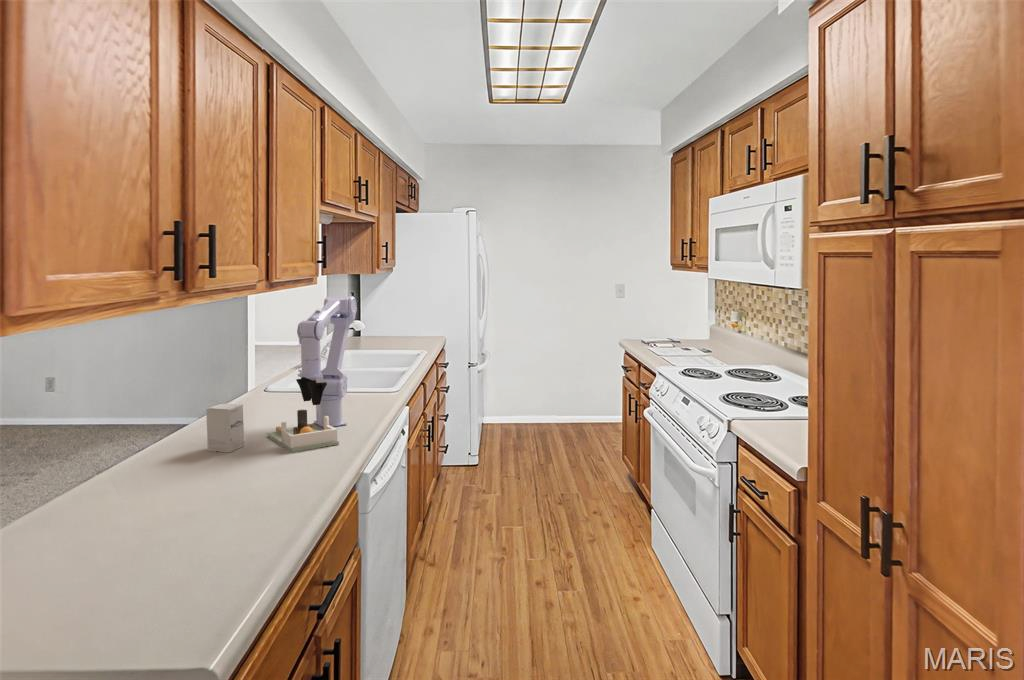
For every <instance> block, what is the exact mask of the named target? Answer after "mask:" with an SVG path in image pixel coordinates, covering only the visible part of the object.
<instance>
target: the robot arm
mask: <svg viewBox="0 0 1024 680" xmlns="http://www.w3.org/2000/svg"><path fill="white" fill-rule="evenodd" d="M357 310H358V307H357V299H356V298H355V297H354V295H353V296H340V295H339V296H334V295H333V296H332V295H327V296H326V297H325V298H324V300H323V307H322V309H316V310H315V311H314V312H313V313H312V314H311V315H310V316H309V317H308V318H307V320H301V322H299V323H298V324H297V328H296V329H297V330H296V333H297V337H298V344H299V345H300V351H301V352H300V354H301V356H300V359H301V360H300V361H301V362H300V363H301V364H300V365H301V367H300V369H301V370H300V371H299V373H298V374H297V377H299V378H296V379H295V380H296V382H297V384H298V386H299V388H300V393H301V397H302V399H303V402H310V401H311V403H312V406H315V415H316V416H315V417H316V418H315V420H314V421H313V423H314V424H316V425H318V426H320V427H321V428H324V416H328V417H329V425H330V426H332V427H338V426H345V425H346V426H347V425H348V422H345V421H343V403H342V402H343V401H342V399H343V398H344V397H345V396H346V394H347V391H348V377H347V375H346V374H345V373H344V372H343V371H342V366H343V360H344V356H345V355H344V354H345V350H346V344H347V340H348V334H349V330H350V325H352V324H353V323H355V320H356V314H357ZM330 324H332V325H333V332H332V335H331V341H330V346H329V349H328V350H329V351H328V355H327V361H326V364H325V368H323V369H322V368H321V365H322V364H321V339H322V338H323V337H324V332H325V329H326V328H327V326H328V325H330Z"/></svg>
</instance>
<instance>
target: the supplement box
mask: <svg viewBox="0 0 1024 680" xmlns="http://www.w3.org/2000/svg"><path fill="white" fill-rule="evenodd" d="M205 414H206V433H207V434H206V435H207V437H206V438H207V451H209V452H216V451H219V453H231V452H233V451H235V450H237V449H239V448H242V446H243V447H244V446H245V431H244V429H245V428H244V425H245V424H244V423H245V422H244V404H240V403H219V404H217V405H216V404H215V405H212V406H210V407H207V408H206V410H205Z"/></svg>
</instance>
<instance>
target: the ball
mask: <svg viewBox="0 0 1024 680" xmlns="http://www.w3.org/2000/svg"><path fill="white" fill-rule="evenodd" d="M309 432H313V429H312V428H311V427H303V428H302V429H301V430H300V434H303V433H309Z"/></svg>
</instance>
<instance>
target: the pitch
mask: <svg viewBox="0 0 1024 680" xmlns="http://www.w3.org/2000/svg"><path fill="white" fill-rule="evenodd" d="M312 429H313V432H309V433H303V434H296V435H294V434H293V429H287V422H286V421H283V422H282V421H281V424H280V426H275V431H273V432H267V437H268V438H269V437H270V440H273V441H274V442H276V443H277V444H279V445H280V446H281V447H283V448H285V449H287V450H288V451H289V452H292V453H297V452H304V451H309V449H310V450H314V449H315V448H316V449H320V448H321V447H322V448H326V446H328V447H332V445H334V446H338V444H339V443H340V441H339V440H338V429H337V428H335V426H333V427H332V426H330V425H329V417H328V416H324V427H323V430H318V429H317V428H315V427H313V426H312ZM339 445H340V444H339Z"/></svg>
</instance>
